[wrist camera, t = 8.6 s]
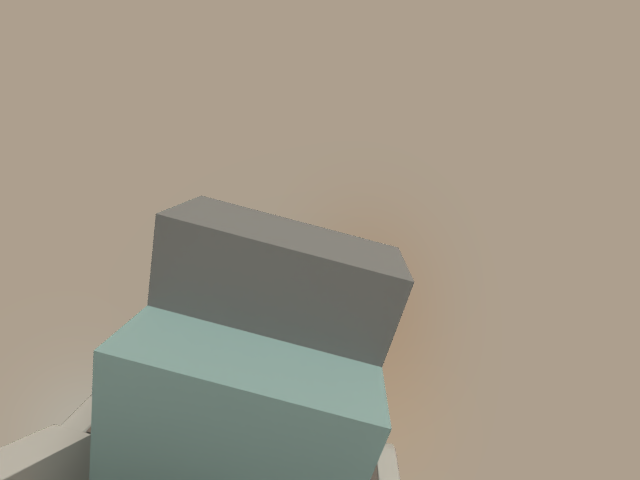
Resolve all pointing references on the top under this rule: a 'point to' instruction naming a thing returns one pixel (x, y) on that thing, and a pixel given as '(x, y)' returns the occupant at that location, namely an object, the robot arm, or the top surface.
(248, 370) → the block
